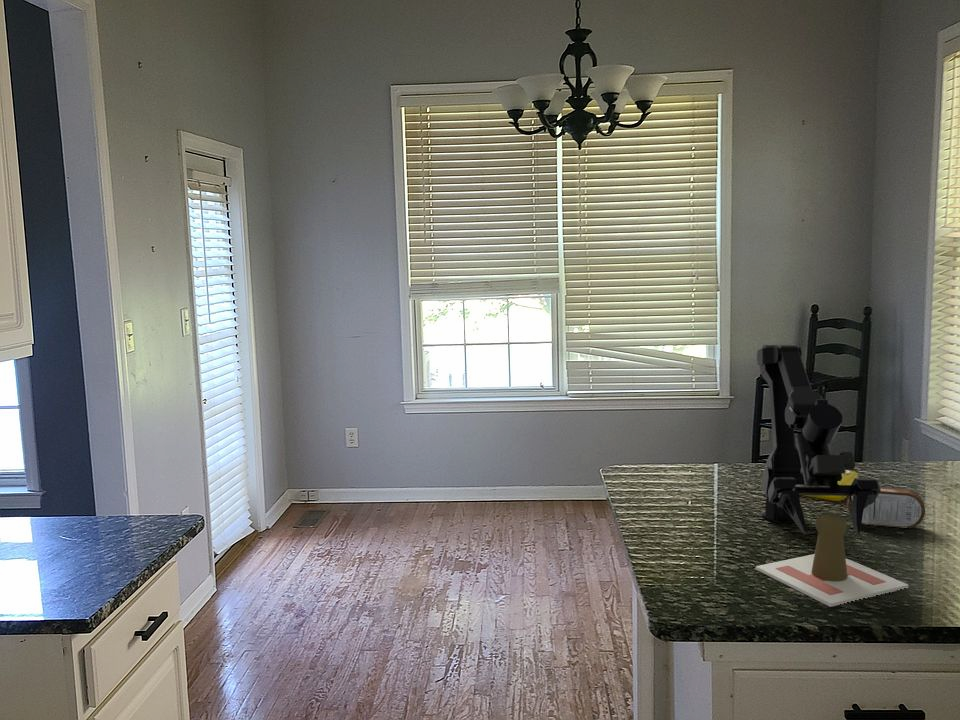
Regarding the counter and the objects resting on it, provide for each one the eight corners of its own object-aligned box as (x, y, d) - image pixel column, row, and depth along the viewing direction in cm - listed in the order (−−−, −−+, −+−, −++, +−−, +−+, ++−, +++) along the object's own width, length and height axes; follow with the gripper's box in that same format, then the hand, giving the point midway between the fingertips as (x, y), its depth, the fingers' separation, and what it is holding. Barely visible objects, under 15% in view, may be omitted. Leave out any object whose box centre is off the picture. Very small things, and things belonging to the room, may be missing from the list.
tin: (922, 527, 175) (924, 488, 174) (925, 532, 172) (927, 493, 171) (845, 520, 180) (847, 483, 179) (846, 525, 177) (848, 487, 176)
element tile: (797, 478, 214) (798, 461, 213) (859, 488, 204) (860, 469, 204) (776, 492, 202) (777, 473, 202) (840, 503, 193) (841, 483, 192)
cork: (855, 577, 148) (857, 518, 146) (831, 583, 145) (833, 523, 144) (827, 565, 153) (829, 508, 152) (803, 571, 150) (806, 513, 149)
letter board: (828, 553, 161) (828, 550, 161) (908, 587, 144) (908, 584, 144) (755, 569, 154) (755, 565, 154) (830, 606, 137) (830, 602, 137)
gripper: (773, 435, 151) (787, 512, 142) (879, 435, 149) (900, 513, 140) (762, 465, 160) (774, 539, 151) (862, 466, 158) (881, 541, 149)
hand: (831, 533), depth 148 cm, fingers open, 9 cm apart
